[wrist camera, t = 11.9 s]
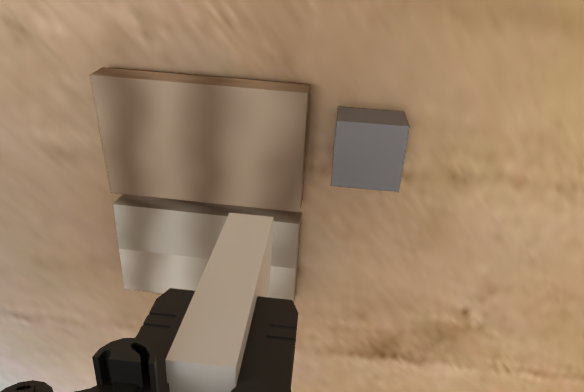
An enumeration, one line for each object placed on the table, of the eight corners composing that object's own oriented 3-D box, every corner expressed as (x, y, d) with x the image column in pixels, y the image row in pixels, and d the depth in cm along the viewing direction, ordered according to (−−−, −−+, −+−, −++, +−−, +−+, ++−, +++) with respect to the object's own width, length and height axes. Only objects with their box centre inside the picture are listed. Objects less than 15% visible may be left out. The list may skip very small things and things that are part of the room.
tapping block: (332, 165, 38) (330, 185, 34) (338, 105, 36) (336, 120, 32) (394, 170, 37) (398, 192, 34) (403, 110, 35) (409, 126, 32)
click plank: (121, 181, 40) (111, 192, 39) (102, 67, 35) (89, 74, 34) (302, 199, 39) (299, 212, 37) (310, 84, 34) (307, 93, 32)
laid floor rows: (133, 276, 45) (124, 288, 43) (123, 194, 41) (113, 204, 39) (295, 295, 44) (292, 309, 42) (301, 212, 40) (299, 224, 38)
